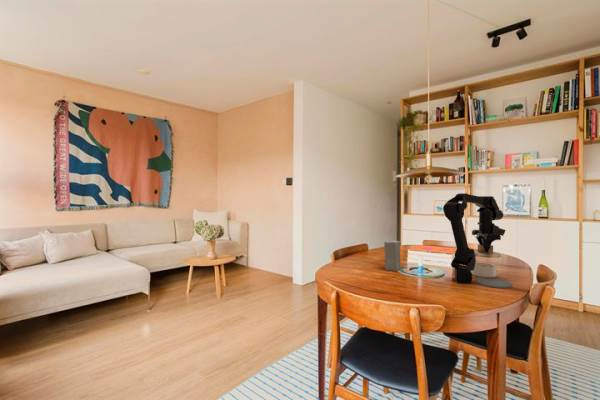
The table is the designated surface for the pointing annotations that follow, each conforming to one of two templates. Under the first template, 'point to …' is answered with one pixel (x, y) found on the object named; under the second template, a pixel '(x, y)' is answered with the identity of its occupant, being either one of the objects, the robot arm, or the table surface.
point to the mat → (493, 282)
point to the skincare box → (392, 255)
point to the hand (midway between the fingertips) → (485, 251)
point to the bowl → (484, 270)
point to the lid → (488, 254)
